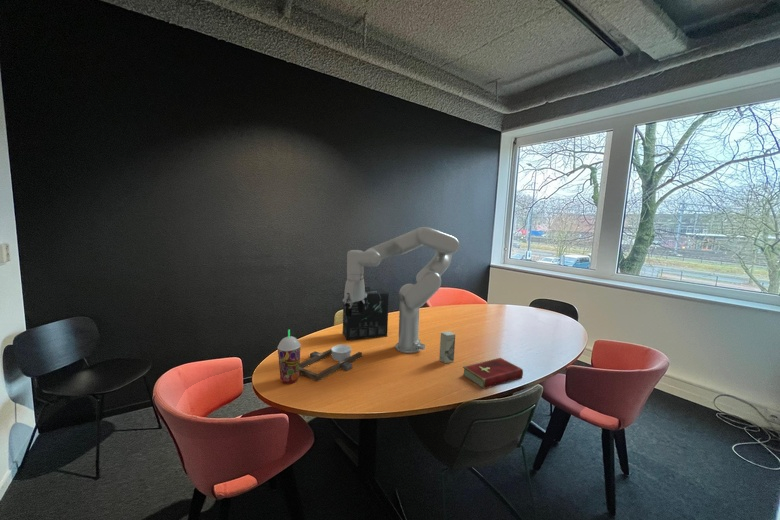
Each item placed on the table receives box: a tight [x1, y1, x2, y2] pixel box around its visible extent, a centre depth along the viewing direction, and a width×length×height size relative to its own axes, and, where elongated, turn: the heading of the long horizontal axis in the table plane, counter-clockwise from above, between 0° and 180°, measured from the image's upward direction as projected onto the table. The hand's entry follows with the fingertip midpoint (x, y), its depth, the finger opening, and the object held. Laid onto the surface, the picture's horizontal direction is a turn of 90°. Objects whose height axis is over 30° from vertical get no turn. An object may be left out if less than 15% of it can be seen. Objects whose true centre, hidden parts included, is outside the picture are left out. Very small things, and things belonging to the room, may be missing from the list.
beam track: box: [299, 348, 363, 382], centre depth 137 cm, size 22×28×2 cm
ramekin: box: [330, 344, 352, 362], centre depth 144 cm, size 9×9×4 cm
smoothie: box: [277, 329, 302, 384], centre depth 121 cm, size 8×8×20 cm
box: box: [438, 330, 456, 364], centre depth 142 cm, size 5×4×13 cm
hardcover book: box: [462, 357, 524, 390], centre depth 130 cm, size 12×21×4 cm, turn 117°
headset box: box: [342, 286, 390, 341], centre depth 171 cm, size 22×12×26 cm, turn 111°
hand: (355, 313), depth 150 cm, fingers open, 8 cm apart
